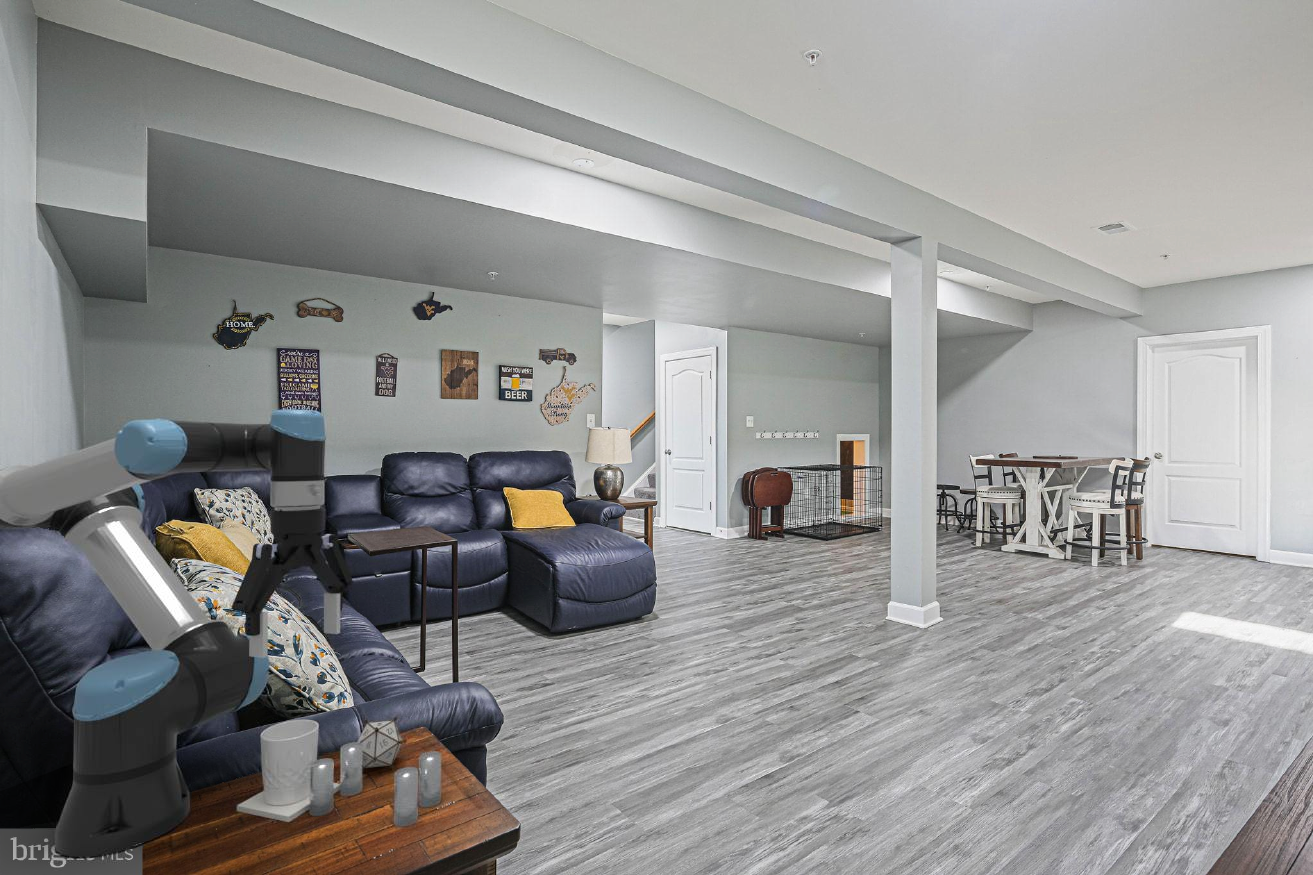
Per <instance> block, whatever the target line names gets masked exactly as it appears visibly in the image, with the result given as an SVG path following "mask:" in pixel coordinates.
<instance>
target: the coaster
mask: <svg viewBox="0 0 1313 875" xmlns="http://www.w3.org/2000/svg"><path fill="white" fill-rule="evenodd" d="M338 792H340V783H337V782H334V784H333V795H335V794H337V793H338ZM309 803H310V795H309V796H308V797H306V798H305V799H303V800H301V801H298V802H296V803H292V804H288V805H279V806H273V805H270V804H267V803H266V802H265V800H264V790H263V791H261V792H259V793H257V794H255V795H253V796H252V797H250V798H248V799H246V800H244V801H243V802H240V803H238V804H237V805H236V812H239V813H243V814H248V815H253V816H258V817H263V818H266V819H267V818H268V819H272V820H277V821H281V822H285V823H290V822H291V821H293V820H295V819H297V818H298V817H299V816H301V815H302V814H304V813H305V812H308V811H309Z"/></svg>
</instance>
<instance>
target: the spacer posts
mask: <svg viewBox="0 0 1313 875" xmlns="http://www.w3.org/2000/svg"><path fill="white" fill-rule="evenodd" d="M339 755H340V760H339V761H340V762H339V763H340V765H339V766H340V768H339V769H340V770H339V771H340V772H339V773H340V774H339V778H340V779H339V784H340V790H339V794H340V796H342V797H353V796H355V795H358V794H359V793H361V792H362V791H363V772H362V768H363V765H362V763H363V744H362V743H360V742H357V741H353V742H347V743H346V744H343V745H342V746H341V747H340V754H339ZM334 767H335V765H334V759H333V758H328V757H327V758H326V757H325V758H320V759H317V760H316V761H314V762H312V763H311V764H310V803H309V810H308V811H309V815H310V816H312V817H322V816H325V815H328V814H330V813H331V812H333V810H334V794H333V784H334V783H335V782H334V781H335V780H334V770H335V769H334ZM393 775H394V777H393V778H394V783H393V784H394V788H393V789H394V791H393V792H394V800H393V801H394V804H393V807H394V808H393V811H394V812H393V814H394V815H393V816H394V818H393V823H394V825H395V826H396V827H399V828H403V827H404V828H405V827H410V826H412V825H414V824H415V823H417V821H418V819H419V818H418V817H419V815H418V814H419V812H418V811H419V808H418V806H419V807H421V808H433V807H435V806H437V805H438V806H439V804H440V803H441V802H442V753H441V752H440V751H437V750H431V751H426V752H423V753H421V754H420V755H418V768H417V767H415V766H406V767H402V768H399V769H397V770H396V771H395V772H394V774H393Z"/></svg>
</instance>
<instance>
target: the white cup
mask: <svg viewBox="0 0 1313 875" xmlns="http://www.w3.org/2000/svg"><path fill="white" fill-rule="evenodd" d="M319 726H320V725H319V723H318V722H317V721H315V720H312V719H294V720H293V719H292V720H287V721H283V722H280V723H277V724H274V725H271V726H269V727H267V728H265V729H263V731H262V732H261V733H260V756H261V776H262V785H263V791H264V800H265V802H266V803H267V804H270V805H273V806H279V805H288V804H292V803H296V802H298V801H301V800H303V799H305V798H306V797H308V796H309V795H310V764H311V763H312V762H314V761H316V760H318V746H319V745H318V742H319Z"/></svg>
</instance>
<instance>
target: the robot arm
mask: <svg viewBox="0 0 1313 875" xmlns="http://www.w3.org/2000/svg"><path fill="white" fill-rule="evenodd" d="M270 415H271V416H270V421H269V423H230V422H229V423H227V422H211V421H210V422H207V421H202V422H201V421H191V420H190V421H189V420H188V421H187V420H173V419H162V418H152V419H135V420H131V421H129V422H127V423H125V424H124V425H123V427H122V429H121V430H118V432H117V434H116V437H115V438H111V439H108V440H106V441H102V442H100V443H96V444H94V445H91V446H87V447H85V448H82V449H79V450H77V451H76V450H75V451H74V452H70V453H67V454H65V455H62V456H61V455H60V456H58V457H55V458H53V459H50V460H47V461H43V462H40V463H37V464H36V465H31V466H30V465H21V464H20V465H14V466H9V467H5V468H3V469H0V529H3V530H4V529H5V530H6V529H7V530H10V529H12V530H14V529H29V528H36V527H40V528H43V529H48V528H49V530H55V531H59V532H60V533H61V535H62V536H64V538H65V539H66V540H68V541H69V542H72V543H73V544H75V545H76V546H77V547H79V548H80V549H81V551H82V552H83V554H84V555H85V556H86V557H85V556H84V555H83V556H84V557H85V559H86V560H87V561H88V562H89V564H90V565H91V567H92V568H93V569H94V571H95V572H96V574H97V575H98V576H99V578H100V579H101V581H102V582H103V583H104V585H105V586H106V587H107V589H108V590H109V592H110V593H111V594H112V596H113V597H114V599H115V600H116V601H117V603H118V605H119V606H120V607H121V608H122V610H123V611H124V612H125V614H126V615H127V617H128V618H129V619H130V621H131V622H132V623H133V625H134V626H135V628H136V629H137V631H138V632H139V633H140V635H141V636H142V637H143V640H145V641H146V643H147V645H149V647H150V648H151V650H147V651H141V652H139V653H136V654H128V655H124V656H120V657H118V658H114V659H111V660H109V661H106V662H104V663H102V664H100V665H98V666H95V667H94V668H92V669H90V670H89V671H88V672H86V673H85V674H84V675H83V676H82V677H81V678H80V680H79V681H78V683H77V685H76V688H75V695H74V702H73V706H72V716H73V762H72V763H73V764H72V766H73V768H72V769H73V773H72V774H73V776H72V779H73V780H72V786H71V789H70V791H69V794H68V797H67V798H66V801H65V804H64V807H63V809H62V811H61V815H60V818H59V819H58V822H57V824H56V827H55V831H54V848H55V851H56V852H57V853H59V854H61V855H63V856H67V857H74V858H76V857H77V858H80V857H81V858H83V857H84V858H85V857H86V858H87V857H96V856H103V855H107V854H108V855H109V854H113V853H117V852H121V851H124V850H128V849H131V848H134V847H133V846H134V845H136V844H139V843H143V842H145V843H148V842H150V841H152V840H155V839H156V838H159V837H161V836H162V835H165V834H166V833H168V832H170V831H172V830H173V829H175V828H176V827H178V826H179V825H180V824H181V823H183V821H184V820H186V818H187V817H188V816H189V813H190V812H191V811H190V809H191V807H190V806H191V795H190V794H191V793H190V791H189V789H188V786H187V783H186V781H185V778H184V777H183V773H182V772H181V768H180V766H179V764H178V761H177V739H178V738H177V737H178V736H177V735H179V734H181V733H182V734H183V733H184V732H186V731H189V730H191V729H194V728H196V727H199V726H201V725H203V724H206V723H208V722H211V721H214V720H216V719H218V718H221V717H224V716H226V715H228V714H229V715H230V714H233V713H235V712H237V711H238V710H240V709H241V708H243V707H245V706H247V705H250V704H251V703H253V702H255V701H256V700H257V699H258V698H259V696H260V695H261V694H262V693H263V692H264V689H265V687H266V685H267V683H268V679H269V675H270V673H269V669H270V659H269V655H268V643H269V642H268V639H269V637H268V633H269V631H268V629H269V626H268V625H269V624H268V623H269V622H268V621H269V618H268V617H269V616H268V614H269V613H268V612H269V611H263V610H264V608H265V607H266V605H267V604H268V602H269V601H270V599H271V597H272V596H273V594H274V593H275V592H276V590H277V588H279V585H280V583H281V582H282V581H283V579H284V577H285V576H286V575H287V574H289V573H290V572H291V570H296V569H300V568H303V567H304V568H307V567H309V568H310V570H311V571H312V572H313V573H314V574H315V576H316V577H317V578H318V579H319V581H320V582H321V583H322V584H323V586H324V587H325V589H327V590H328V592H324V593H323V634H332V635H338V634H341V612H343V607H344V606H343V602H344V601H343V594H345V593H347V592H348V591H349V587H352V586H353V583H354V580H353V578H352V575H351V573H350V571H349V568H348V566H347V563H346V560H345V559H344V556H343V554H342V552H341V549H340V546H339V537H338V534H334V533H323V534H321V533H322V532H323V531H324V530H325V527H326V526H325V524H326V523H325V520H326V518H325V517H326V515H325V512H326V511H325V509H324V508H321V506H323V505H324V504H325V452H326V438H327V436H326V430H325V418H324V415H323V414H322V413H321V412H320V411H317V410H313V409H278V410H277V409H276V410H274V411H273V412H271V414H270ZM245 471H246V472H247V471H270V493H269V494H270V502H269V504H270V506H271V507H272V508H274V510H271V512H270V516H269V517H270V533H271V534H272V537H273V540H272V542H271V543H257V542H256V543H254V545H253V547H252V553H251V560H250V562H249V565H248V567H247V570H246V571H245V575H244V577H243V578H242V582H241V584H240V586H239V588H238V591H237V592H236V595H235V598H234V600H233V602H232V605H231V609H232V611H236V612H241V613H244V614H245V634H244V633H241V634H238V635H235V634H234V632H233V630H232V629H231V628H230V627H229V625H228V624H227V622H225V621H224V620H222V619H210V618H209V617H208V616H207V614H206V613H205V611H203V609H202V607H201V606H200V605H199V604H198V603H197V601H196V600H195V598H193V596H192V595H191V593H190V592H189V591H188V589H187V588H186V587H185V585H184V584H183V583H182V581H181V580H180V579H179V578H178V576H177V575H176V573H175V572H174V571H173V569H172V568H171V567H170V566H169V565H168V563H167V561H165V559H164V558H163V556H162V555H161V554H160V552H159V551H158V550H157V549H156V547H155V546H154V544H153V543H152V542H151V540H150V539H149V538H148V536H147V535H146V534H145V533H144V531H143V530H142V529H141V524H142V522H143V518H144V517H143V514H144V512H145V508H146V507H145V506H146V500H145V499H143V498H142V497H143V496H144V491H143V488H142V486H141V484H144V483H147V482H151V481H154V480H158V479H162V478H165V477H167V476H168V477H169V476H171V475H174V474H180V473H181V474H183V473H196V472H197V473H198V472H199V473H204V472H245ZM7 522H8V523H7ZM21 525H22V526H21ZM49 526H50V527H49ZM321 550H322V552H321ZM322 553H323V554H322ZM272 557H273V558H272ZM271 559H272V560H271ZM147 841H148V842H147ZM143 844H144V843H143Z"/></svg>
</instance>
